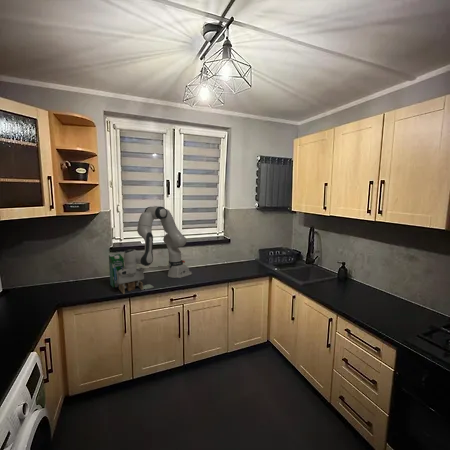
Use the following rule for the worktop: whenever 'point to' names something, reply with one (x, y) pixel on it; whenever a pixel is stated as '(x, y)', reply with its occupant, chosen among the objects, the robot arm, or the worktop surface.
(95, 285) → the worktop surface
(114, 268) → the milk carton
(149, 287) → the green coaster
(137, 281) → the croissant
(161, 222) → the robot arm
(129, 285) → the walnut block
